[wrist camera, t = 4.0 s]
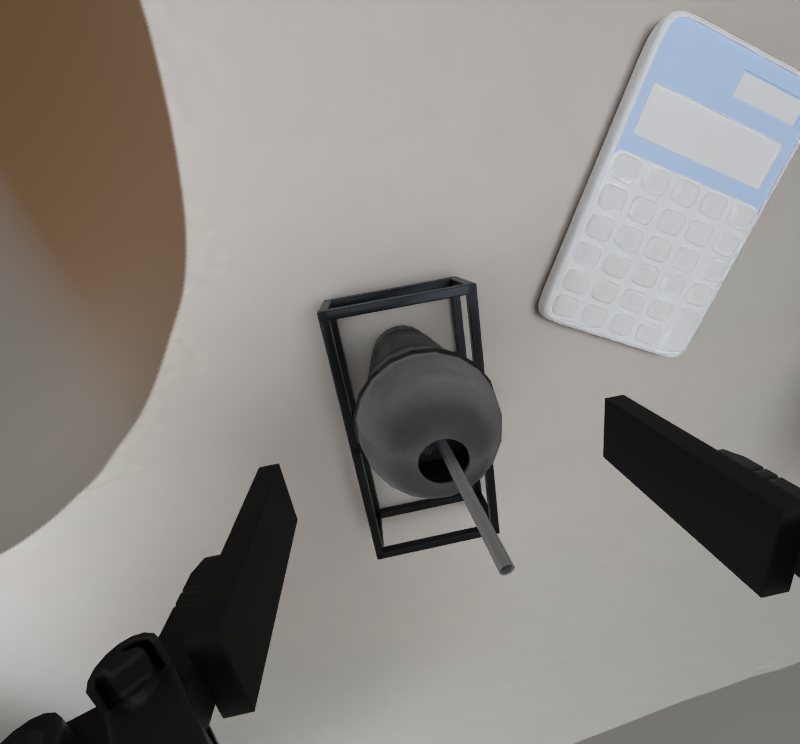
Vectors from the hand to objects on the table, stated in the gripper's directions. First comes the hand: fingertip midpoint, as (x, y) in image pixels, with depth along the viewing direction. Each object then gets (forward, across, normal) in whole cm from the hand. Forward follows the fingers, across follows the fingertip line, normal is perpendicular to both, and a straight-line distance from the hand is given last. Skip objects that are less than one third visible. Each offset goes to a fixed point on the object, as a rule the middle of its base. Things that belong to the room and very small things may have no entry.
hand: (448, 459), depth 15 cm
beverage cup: (+16, 0, 0) cm, 16 cm away
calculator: (+16, +21, +7) cm, 27 cm away
